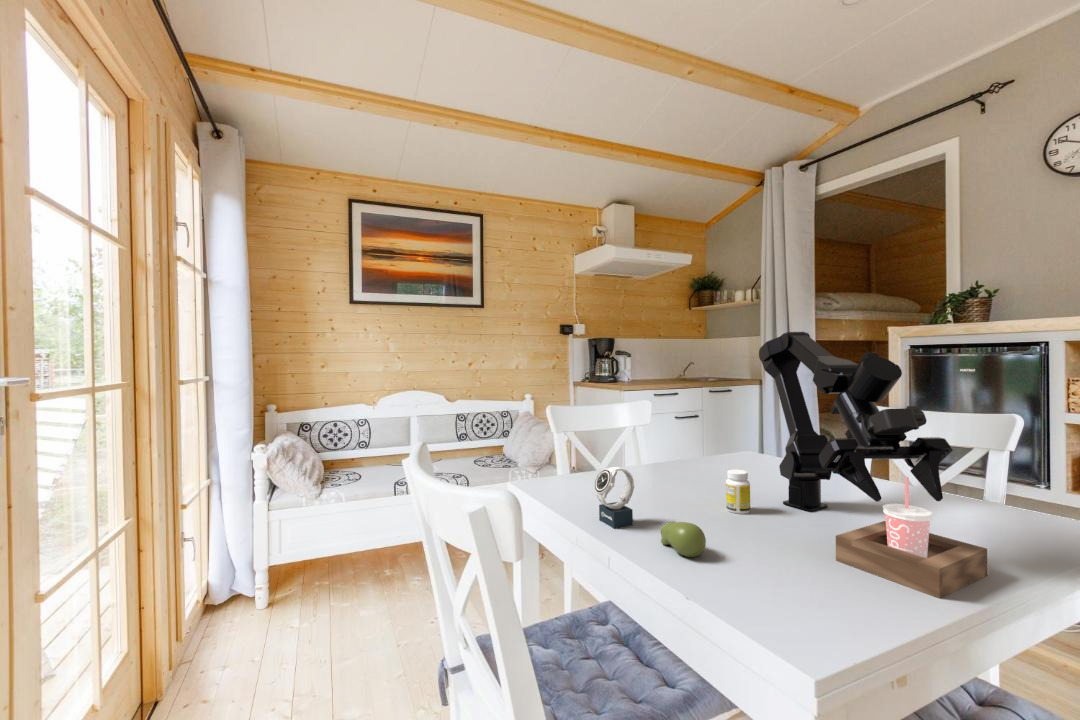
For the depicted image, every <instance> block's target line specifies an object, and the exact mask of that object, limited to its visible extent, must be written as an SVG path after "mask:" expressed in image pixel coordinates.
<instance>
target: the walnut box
mask: <svg viewBox="0 0 1080 720" xmlns="http://www.w3.org/2000/svg"><path fill="white" fill-rule="evenodd" d="M835 561H837V562H839V563H842V564H845V565H848V566H850V567H852V566H853V568H855V569H859V570H861V571H863V570H864V572H866V571H867V573H869V572H870V574H871V575H874V574H875V576H877V575H878V576H877V577H880V578H883V579H886V580H889V581H891V582H894V583H897V584H900V585H902V586H904V587H908V588H910V589H913V590H916V591H918V592H921V593H923V594H926V595H930V596H931V597H932V596H933V597H934V598H938V599H941V598H944V597H946V596H947V595H950V594H952V593H954V592H956V591H957V590H958V591H959V590H960V589H962V588H965V587H966V586H968V585H970V584H973V583H974V582H977V581H978V580H981V579H983V578H985V577H987V576H988V548H986V547H982V546H980V545H975V544H971V543H967V542H964V541H960V540H957V539H954V538H953V539H952V538H949V537H945V536H942V535H939V534H934V533H931V532H929V540H928V553H927V558H924V557H921V556H918V555H915V554H912V553H908V552H905V551H902V550H899V549H895V548H892V547H889V546H888V544H887V531H886V520H882V521H879V522H875V523H872V524H870V525H866V526H864V527H859V528H855V529H853V530H850V531H846V532H844V533H840V534H836V535H835Z"/></svg>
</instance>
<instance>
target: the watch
mask: <svg viewBox="0 0 1080 720" xmlns="http://www.w3.org/2000/svg"><path fill="white" fill-rule="evenodd" d="M618 471H619V472H620V471H622V472H623V473H624V474H625V477H626V483H625V484H624V488H623V491H622V492H621V495H620V497H619V500H618V501H616V502H609V503H608V502H607V501H606V498H607V496H608V494H609V493H610V492H611V491H612V489H613V488H614V487H615V483H616V476H617V474H618ZM634 481H635V480H634V478H633V475H632V474H631V472H630V471H628V470H627V469H624V468H622V467H620V466H610V467H607V468H605V469H603V470H601V471H600V472H599V473H598V474H597V476H596V479H595V480H594V490H595V494H596V496H597V497H596V498H597V499H598V501H599V502H600V504H599V505H598V508H599V509H598V511H599V513H598V516H599V521H600V522H602V523H604V524H605V525H608V526H609V527H611V528H612V529H614V530H615V529H619V528H625V527H629V526H634V523H633V522H634V519H633V518H634V517H633V516H634V515H633V514H634V512H633V508H630V507H628V506H626V504H629V502H630V501H631V498H632V496H633V494H634V489H635V482H634Z"/></svg>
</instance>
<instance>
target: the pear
mask: <svg viewBox="0 0 1080 720" xmlns="http://www.w3.org/2000/svg"><path fill="white" fill-rule="evenodd" d="M660 535H661V541H660V543H661V544H662V545H663V546H664V545H665V546H666V545H670V546H671V547H672V548H673V549H674V550H675V551H676V552H677V553H678V554H679V555H682V556H683V557H687V558H695V557H697V556H700V555H701V554H702V553H703V552H704V551H705V548H706V546H707V545H706V544H707V539H706V535H705V533H704V531H703V529H702V528H700V526H698V525H697V524H694V523H692V522H685V521H679V522H676V521H669V522H667V523H666V524H663V526H661V528H660Z"/></svg>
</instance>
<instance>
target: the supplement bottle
mask: <svg viewBox="0 0 1080 720" xmlns="http://www.w3.org/2000/svg"><path fill="white" fill-rule="evenodd" d="M748 479H749V473H748V471H747V470H743V469H728V470H727V479H726V480H725V498H726V499H725V500H726V502H725V503H726V508H725V509H726V511H728V512H729V513H732V514H737V515H738V514H739V515H745V514H749V513H750V512H751V483H750V481H749V480H748Z"/></svg>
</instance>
